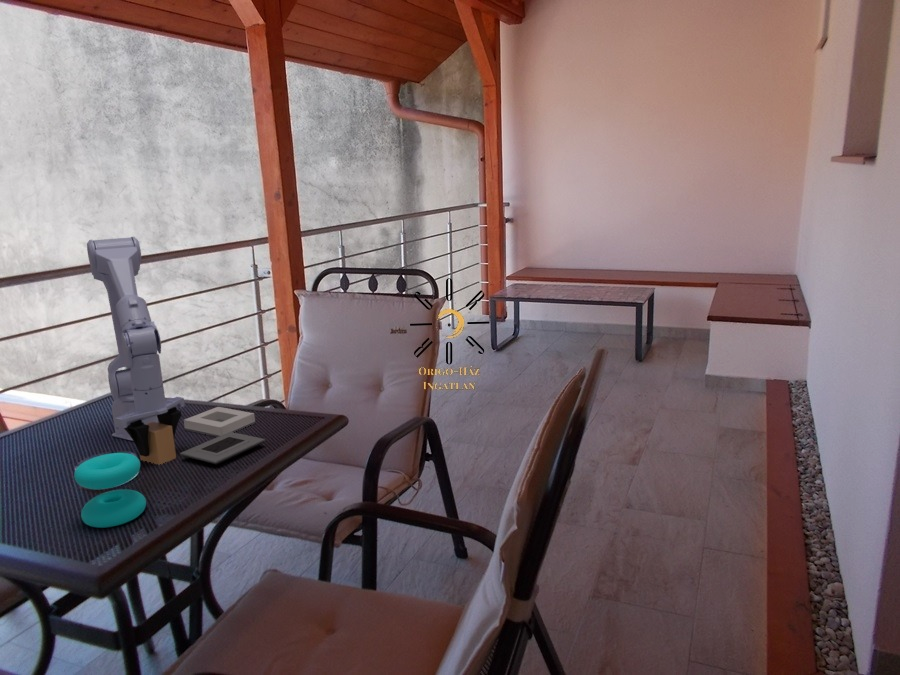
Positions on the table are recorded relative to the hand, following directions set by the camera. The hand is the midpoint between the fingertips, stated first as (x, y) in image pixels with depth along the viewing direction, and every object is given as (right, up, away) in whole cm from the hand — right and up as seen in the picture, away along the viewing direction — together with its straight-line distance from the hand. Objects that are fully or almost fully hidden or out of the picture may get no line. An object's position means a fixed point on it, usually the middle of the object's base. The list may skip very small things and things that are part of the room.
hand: (157, 450), depth 141 cm
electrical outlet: (+13, -2, +2) cm, 13 cm away
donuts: (+3, -8, -24) cm, 25 cm away
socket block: (+7, +2, +18) cm, 19 cm away
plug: (0, -2, 0) cm, 2 cm away
